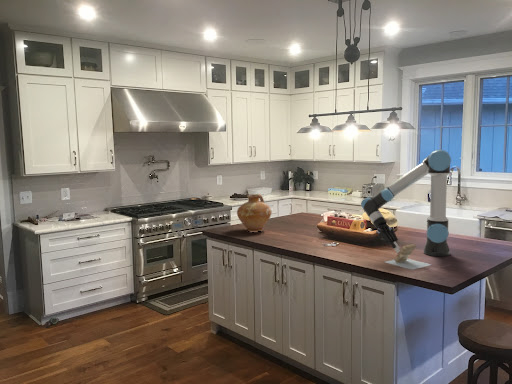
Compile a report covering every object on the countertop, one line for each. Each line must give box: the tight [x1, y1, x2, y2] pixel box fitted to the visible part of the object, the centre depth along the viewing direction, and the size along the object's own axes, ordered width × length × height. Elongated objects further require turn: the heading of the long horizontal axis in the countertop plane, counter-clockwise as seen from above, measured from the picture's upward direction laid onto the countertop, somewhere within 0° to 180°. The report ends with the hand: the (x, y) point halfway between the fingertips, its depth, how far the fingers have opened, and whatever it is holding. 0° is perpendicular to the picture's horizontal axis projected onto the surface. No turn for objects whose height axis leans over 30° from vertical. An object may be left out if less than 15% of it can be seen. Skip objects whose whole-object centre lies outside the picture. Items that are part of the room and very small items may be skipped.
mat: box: [384, 258, 432, 271], centre depth 257 cm, size 20×17×1 cm
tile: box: [393, 243, 417, 263], centre depth 258 cm, size 2×8×12 cm
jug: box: [236, 193, 272, 232], centre depth 362 cm, size 28×28×30 cm
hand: (399, 252), depth 261 cm, fingers closed
